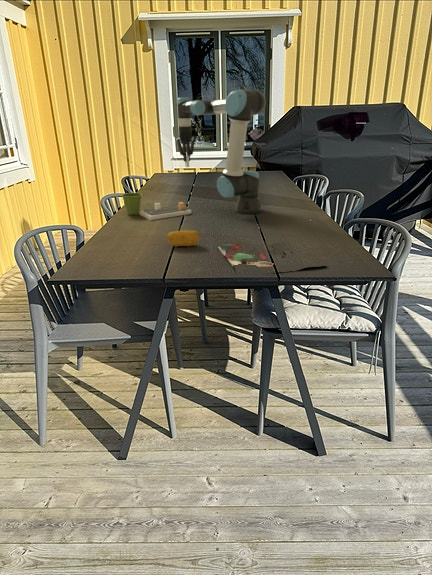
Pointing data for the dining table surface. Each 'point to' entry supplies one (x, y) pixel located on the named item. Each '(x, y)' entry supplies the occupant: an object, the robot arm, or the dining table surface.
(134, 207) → the plant pot
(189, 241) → the potato
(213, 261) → the dining table surface
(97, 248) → the dining table surface
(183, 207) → the fader knob
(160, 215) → the fader panel
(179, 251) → the dining table surface
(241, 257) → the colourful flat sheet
